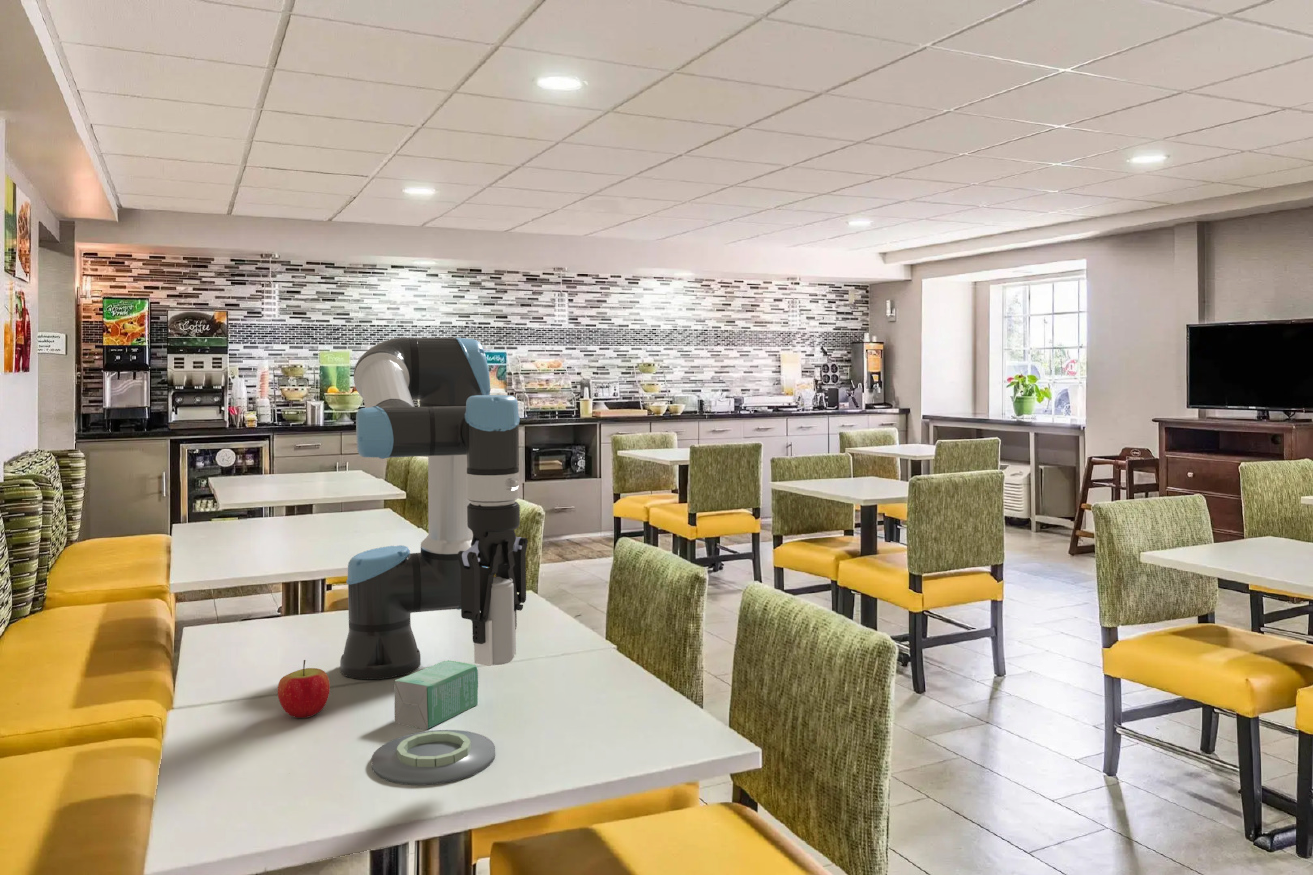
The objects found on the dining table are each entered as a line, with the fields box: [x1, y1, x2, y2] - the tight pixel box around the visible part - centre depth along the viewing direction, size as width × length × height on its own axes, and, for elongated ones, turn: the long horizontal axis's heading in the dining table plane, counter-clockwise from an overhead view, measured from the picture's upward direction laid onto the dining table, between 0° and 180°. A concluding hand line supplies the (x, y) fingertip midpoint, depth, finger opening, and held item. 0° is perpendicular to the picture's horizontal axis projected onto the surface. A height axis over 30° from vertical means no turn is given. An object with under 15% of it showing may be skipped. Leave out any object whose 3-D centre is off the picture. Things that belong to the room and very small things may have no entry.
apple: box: [277, 659, 331, 719], centre depth 161 cm, size 8×8×10 cm
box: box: [393, 660, 479, 731], centre depth 162 cm, size 7×14×8 cm, turn 153°
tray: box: [371, 729, 496, 786], centre depth 143 cm, size 18×18×2 cm
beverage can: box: [488, 576, 515, 666], centre depth 139 cm, size 5×5×12 cm
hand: (495, 658), depth 140 cm, fingers closed on beverage can, 5 cm apart
